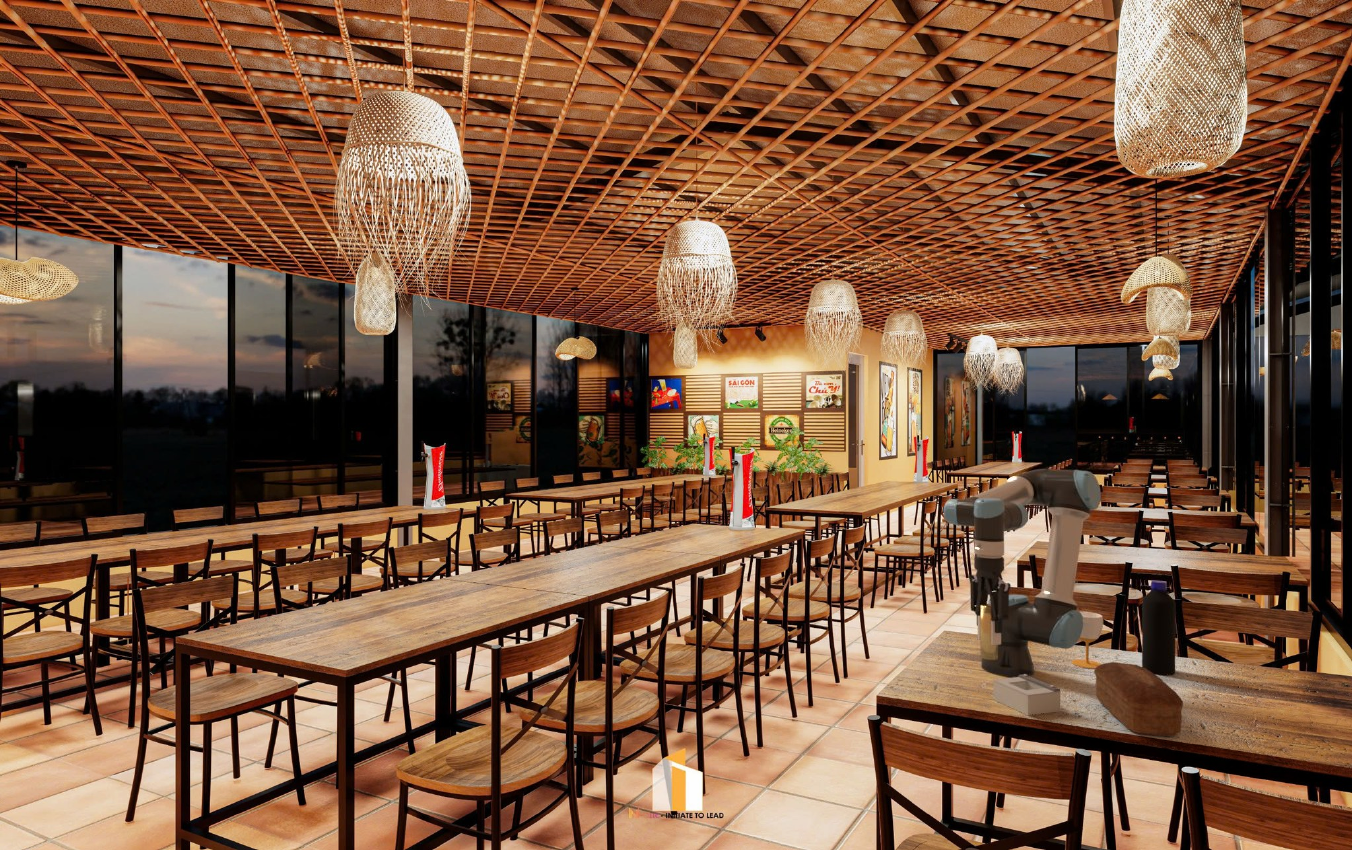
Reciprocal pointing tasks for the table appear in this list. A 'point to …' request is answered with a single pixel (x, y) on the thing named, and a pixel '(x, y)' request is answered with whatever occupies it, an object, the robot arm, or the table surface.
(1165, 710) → the bread
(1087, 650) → the cup
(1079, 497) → the robot arm
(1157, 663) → the bottle
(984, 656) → the golden cylinder
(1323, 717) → the table surface
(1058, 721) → the table surface
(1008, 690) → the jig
